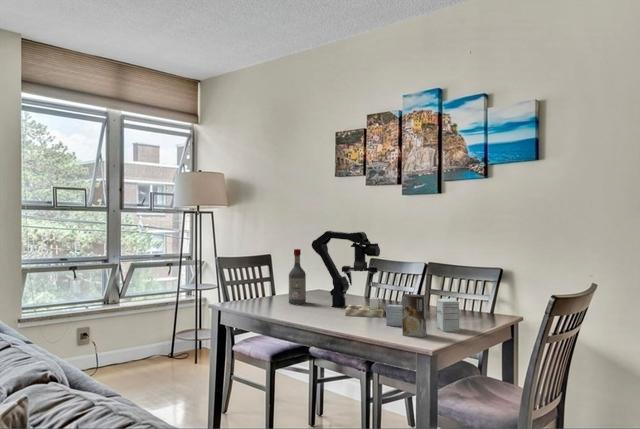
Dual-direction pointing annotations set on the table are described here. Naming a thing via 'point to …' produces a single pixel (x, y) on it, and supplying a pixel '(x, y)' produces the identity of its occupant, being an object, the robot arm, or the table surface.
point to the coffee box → (414, 315)
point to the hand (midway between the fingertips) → (359, 285)
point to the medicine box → (394, 315)
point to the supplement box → (448, 315)
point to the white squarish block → (373, 302)
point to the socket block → (364, 311)
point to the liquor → (297, 281)
